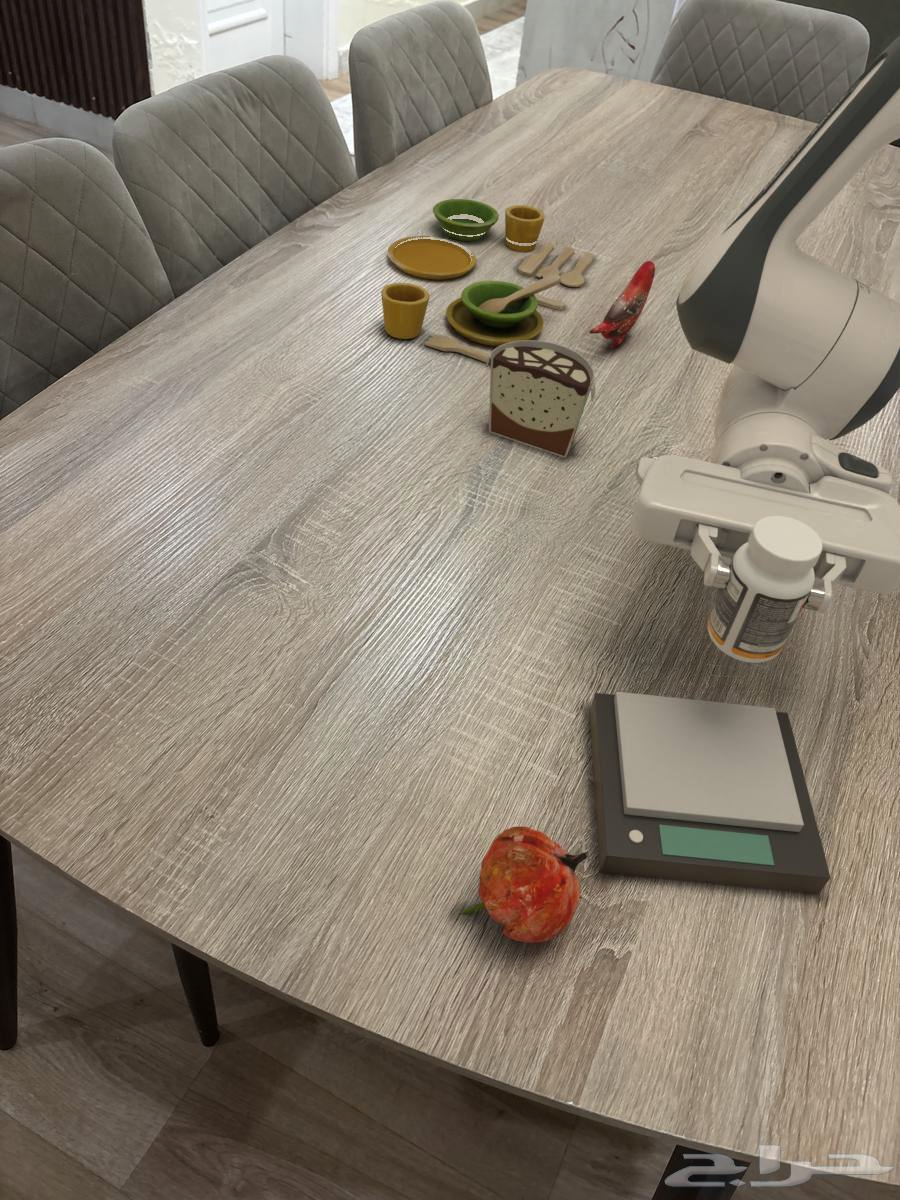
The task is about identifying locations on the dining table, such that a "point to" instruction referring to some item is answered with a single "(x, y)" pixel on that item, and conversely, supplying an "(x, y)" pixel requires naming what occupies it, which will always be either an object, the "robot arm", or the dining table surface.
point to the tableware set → (484, 305)
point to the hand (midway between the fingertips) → (767, 592)
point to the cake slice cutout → (538, 393)
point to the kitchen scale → (702, 794)
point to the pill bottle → (765, 589)
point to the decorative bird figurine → (627, 306)
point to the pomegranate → (529, 885)
